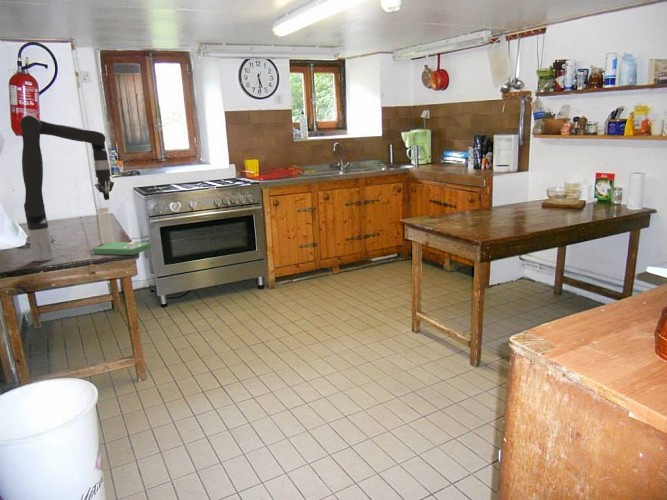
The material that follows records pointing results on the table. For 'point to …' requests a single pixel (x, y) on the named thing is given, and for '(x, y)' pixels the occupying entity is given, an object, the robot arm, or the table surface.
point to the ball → (131, 245)
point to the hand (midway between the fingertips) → (106, 199)
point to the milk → (105, 225)
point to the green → (121, 248)
